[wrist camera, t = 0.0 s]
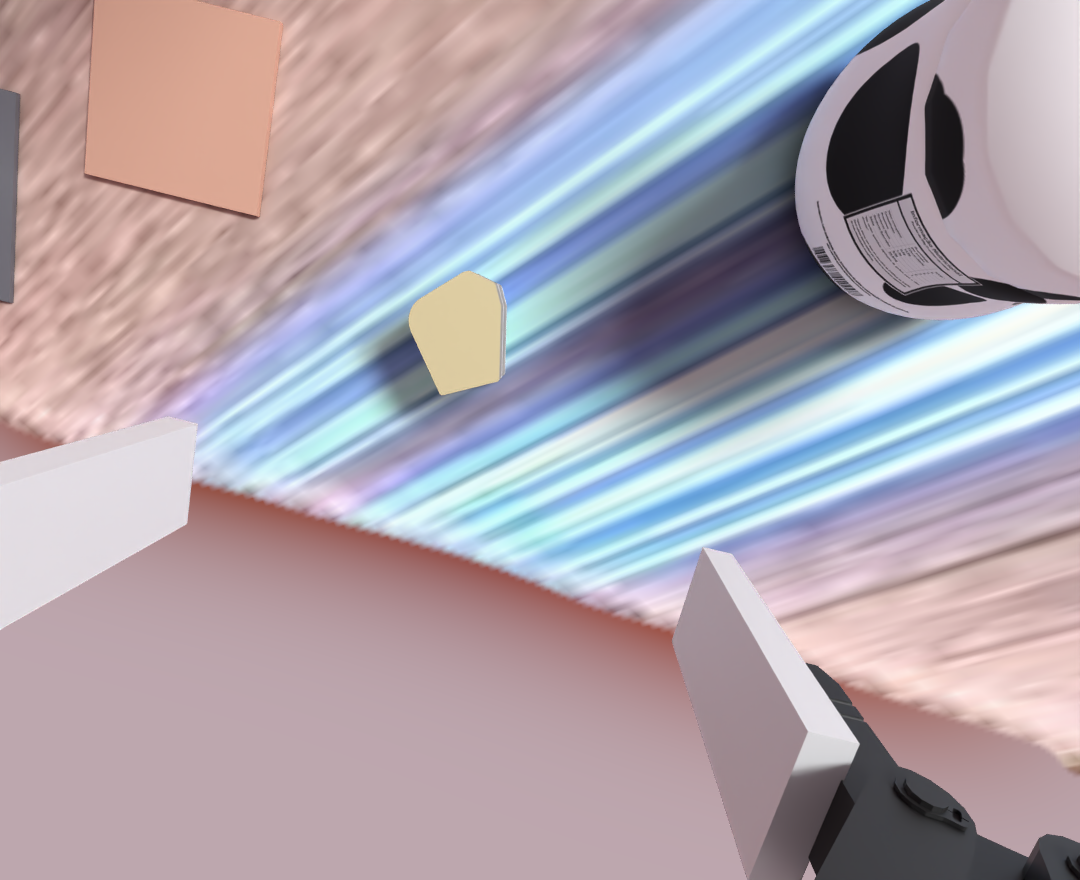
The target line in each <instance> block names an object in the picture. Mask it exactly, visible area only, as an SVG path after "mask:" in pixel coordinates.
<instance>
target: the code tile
mask: <svg viewBox="0 0 1080 880" xmlns="http://www.w3.org/2000/svg"><path fill="white" fill-rule="evenodd" d="M19 110H20V94H18V93H15V92H11V91H7V90H3V89H0V300H1V301H5V302H9V303H13V293H14V263H15V232H16V202H17V171H18V140H19Z"/></svg>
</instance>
